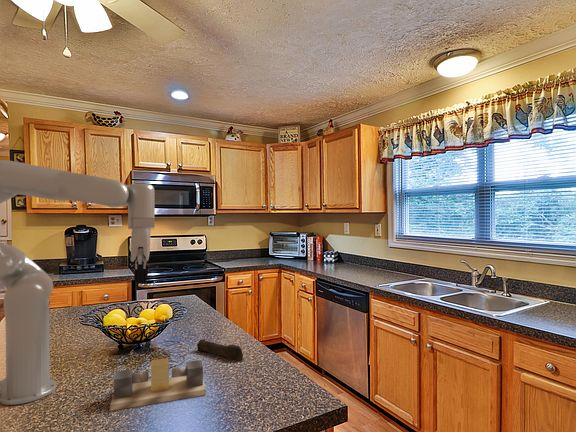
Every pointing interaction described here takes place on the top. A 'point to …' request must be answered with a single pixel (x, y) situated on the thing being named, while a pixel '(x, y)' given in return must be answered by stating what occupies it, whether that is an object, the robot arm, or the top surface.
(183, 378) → the shaft mount
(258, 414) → the top surface
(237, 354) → the hand tool
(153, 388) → the yellow rectangular block
